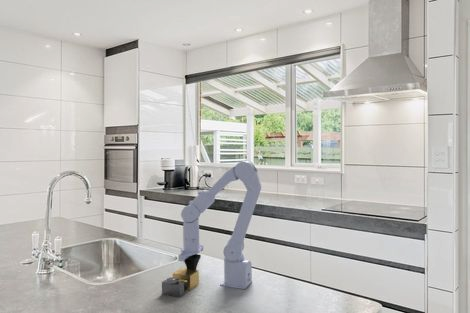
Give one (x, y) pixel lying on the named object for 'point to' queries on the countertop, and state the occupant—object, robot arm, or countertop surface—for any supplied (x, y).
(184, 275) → the coupler lock
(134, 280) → the countertop surface
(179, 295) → the coupler
